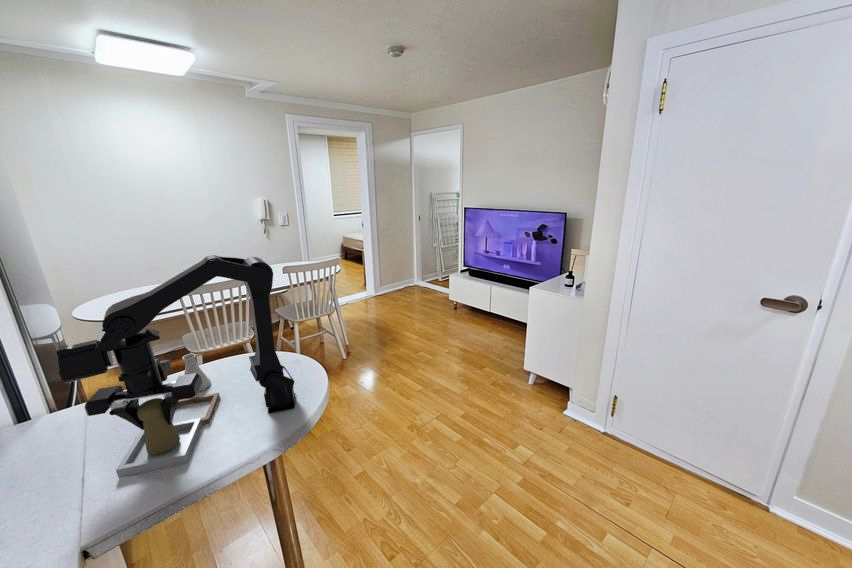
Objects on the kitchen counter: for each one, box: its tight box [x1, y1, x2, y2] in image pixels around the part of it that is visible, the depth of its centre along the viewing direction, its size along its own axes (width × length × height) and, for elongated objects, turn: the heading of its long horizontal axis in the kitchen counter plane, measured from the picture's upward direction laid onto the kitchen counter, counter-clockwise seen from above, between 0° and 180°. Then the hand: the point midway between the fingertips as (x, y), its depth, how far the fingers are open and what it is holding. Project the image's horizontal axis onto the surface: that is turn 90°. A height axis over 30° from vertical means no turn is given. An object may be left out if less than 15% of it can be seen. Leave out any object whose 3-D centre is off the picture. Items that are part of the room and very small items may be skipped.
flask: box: [181, 352, 212, 393], centre depth 97 cm, size 7×7×10 cm
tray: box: [115, 417, 204, 479], centre depth 77 cm, size 12×12×2 cm
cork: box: [137, 397, 180, 455], centre depth 75 cm, size 6×6×11 cm
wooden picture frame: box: [174, 392, 221, 426], centre depth 88 cm, size 11×11×2 cm
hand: (157, 425), depth 75 cm, fingers closed on cork, 4 cm apart
